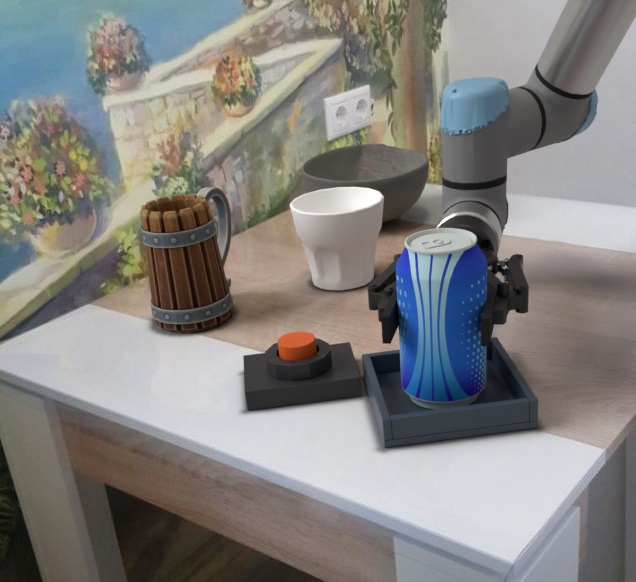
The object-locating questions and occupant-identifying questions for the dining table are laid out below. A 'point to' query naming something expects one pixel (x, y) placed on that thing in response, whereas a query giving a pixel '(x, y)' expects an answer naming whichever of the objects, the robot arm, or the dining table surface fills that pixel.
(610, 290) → the dining table surface
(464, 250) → the beer can
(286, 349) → the button
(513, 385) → the shallow square tray
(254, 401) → the dark grey button base
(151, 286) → the mug
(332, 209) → the cup
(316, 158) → the bowl
